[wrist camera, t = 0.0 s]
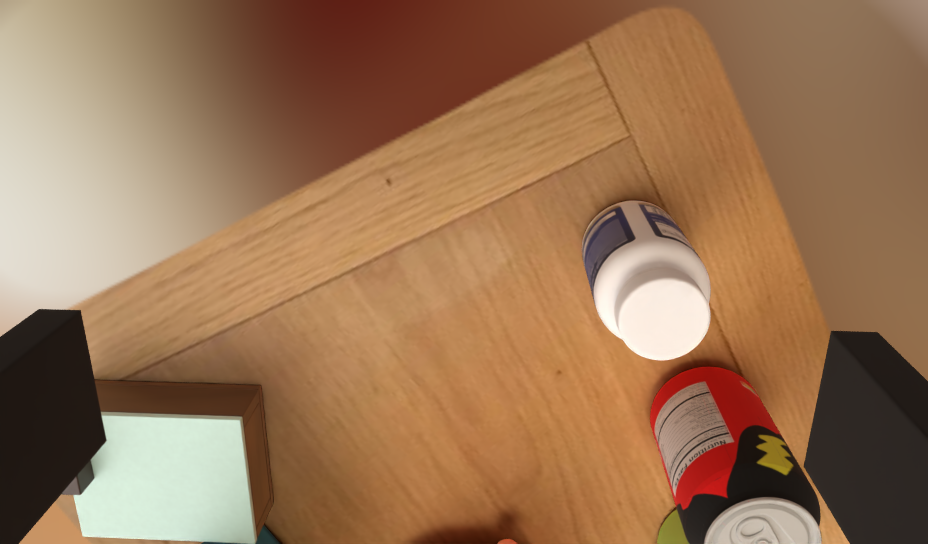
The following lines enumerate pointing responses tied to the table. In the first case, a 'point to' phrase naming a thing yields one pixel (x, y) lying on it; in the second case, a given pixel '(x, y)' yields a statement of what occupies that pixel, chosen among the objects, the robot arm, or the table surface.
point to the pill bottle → (647, 280)
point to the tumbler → (672, 531)
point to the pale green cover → (167, 480)
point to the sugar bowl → (507, 541)
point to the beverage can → (730, 463)
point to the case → (203, 402)
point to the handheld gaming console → (265, 539)
